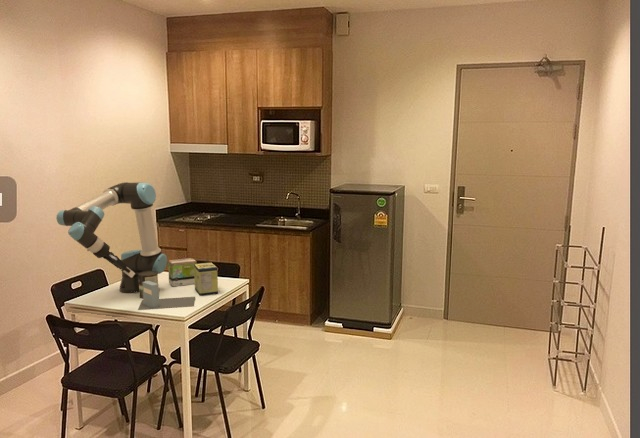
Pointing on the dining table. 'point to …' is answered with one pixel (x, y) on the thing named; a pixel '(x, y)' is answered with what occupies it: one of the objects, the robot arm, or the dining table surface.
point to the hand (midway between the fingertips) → (132, 275)
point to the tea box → (181, 272)
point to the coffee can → (146, 279)
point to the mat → (171, 303)
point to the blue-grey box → (151, 294)
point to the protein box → (206, 279)
